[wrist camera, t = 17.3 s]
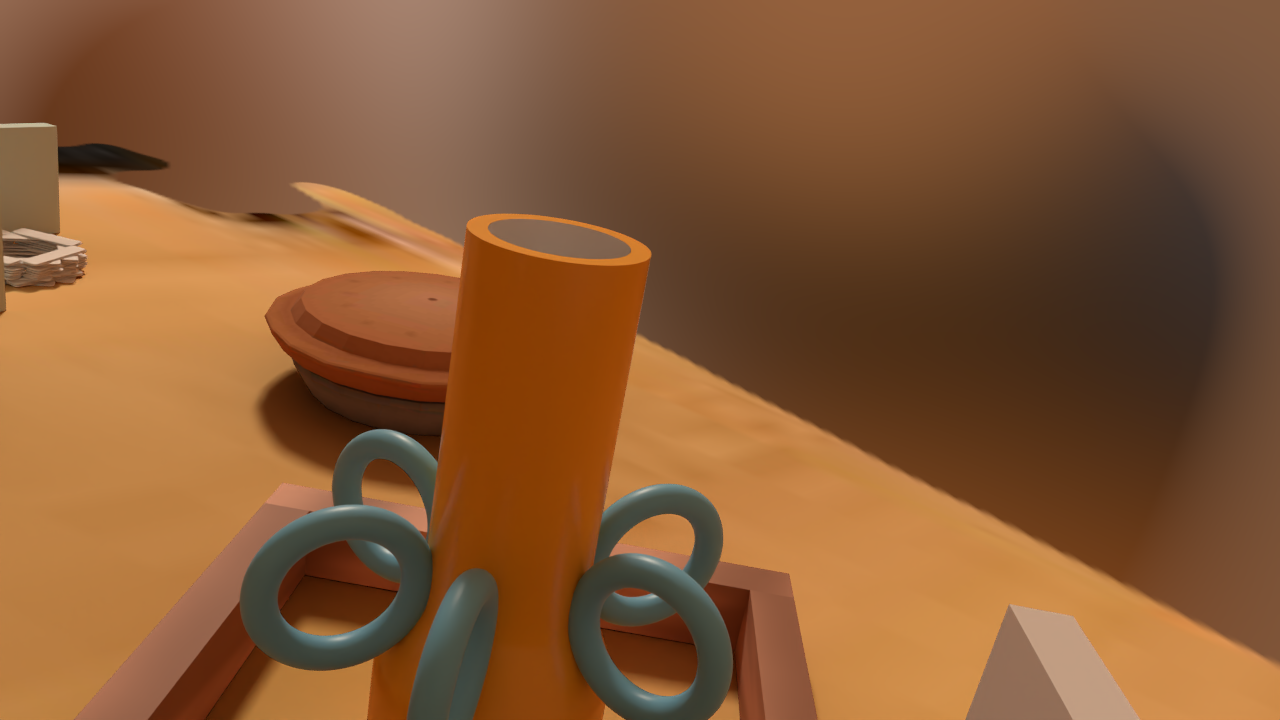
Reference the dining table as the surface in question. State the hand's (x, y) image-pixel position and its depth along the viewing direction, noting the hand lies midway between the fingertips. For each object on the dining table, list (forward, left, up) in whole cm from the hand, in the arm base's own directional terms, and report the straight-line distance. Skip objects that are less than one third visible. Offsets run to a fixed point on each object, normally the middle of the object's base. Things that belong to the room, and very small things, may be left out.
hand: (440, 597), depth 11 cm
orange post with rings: (0, +11, -13) cm, 17 cm away
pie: (-8, +36, -13) cm, 39 cm away
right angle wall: (-34, +43, -14) cm, 57 cm away
